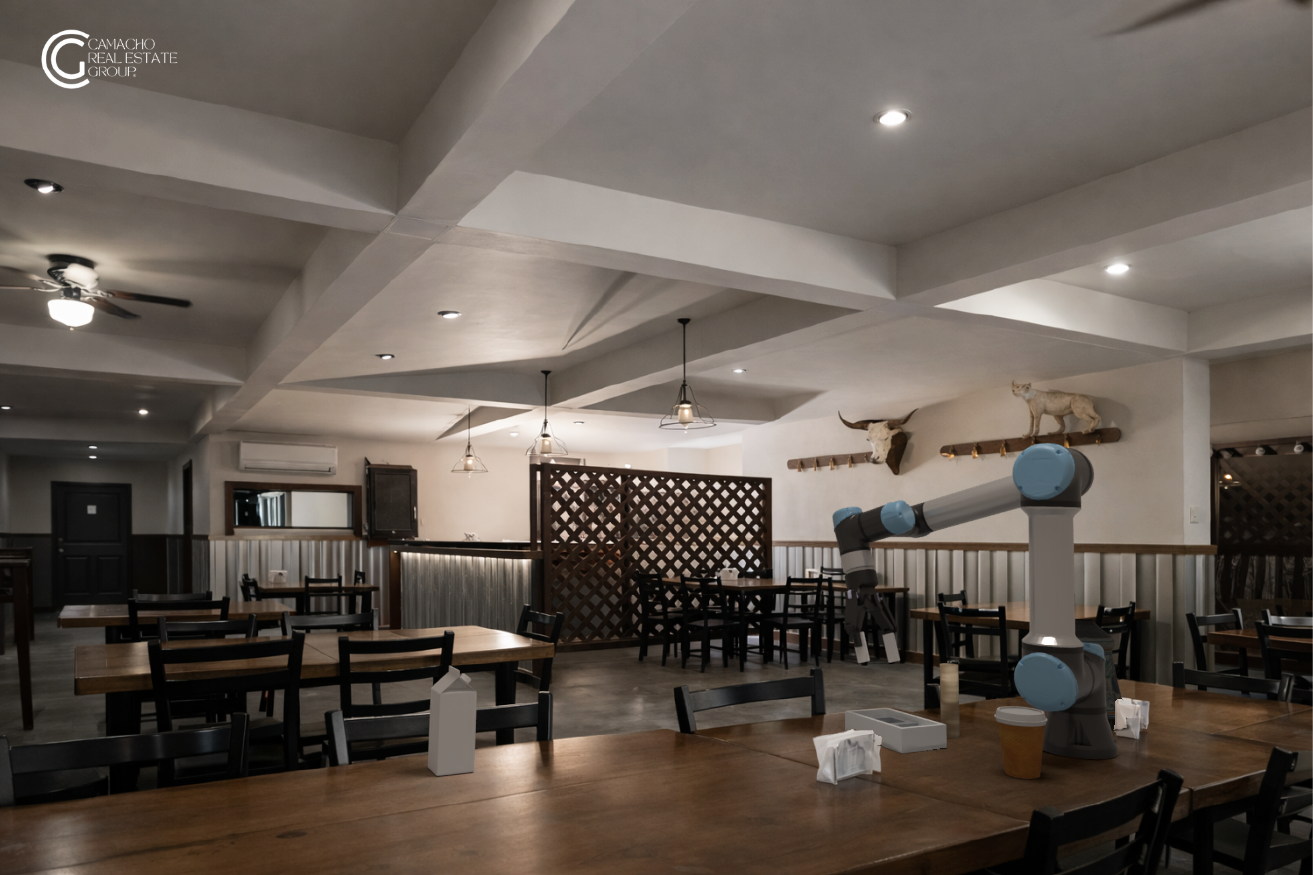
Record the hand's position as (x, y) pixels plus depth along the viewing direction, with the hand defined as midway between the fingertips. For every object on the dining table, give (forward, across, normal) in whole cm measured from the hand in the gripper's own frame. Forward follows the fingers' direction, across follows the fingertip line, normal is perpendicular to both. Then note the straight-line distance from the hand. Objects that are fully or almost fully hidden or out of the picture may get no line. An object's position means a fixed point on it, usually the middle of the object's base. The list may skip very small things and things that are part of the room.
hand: (879, 661), depth 208 cm
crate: (+17, +2, 0) cm, 17 cm away
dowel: (+18, -12, +7) cm, 23 cm away
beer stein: (+20, -50, +23) cm, 59 cm away
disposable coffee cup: (+27, +9, +30) cm, 42 cm away
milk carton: (+11, +86, -46) cm, 98 cm away
